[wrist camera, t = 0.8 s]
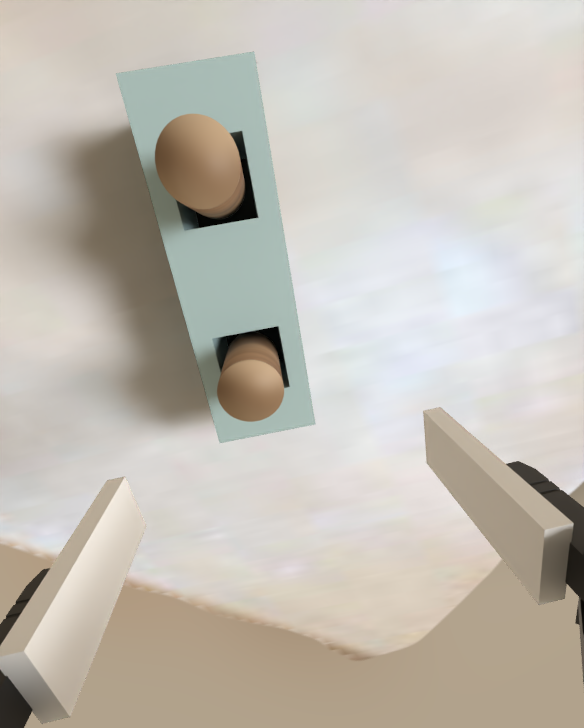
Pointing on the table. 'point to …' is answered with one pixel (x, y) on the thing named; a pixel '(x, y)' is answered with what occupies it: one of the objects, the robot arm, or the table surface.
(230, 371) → the peg
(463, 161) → the table surface
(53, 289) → the table surface
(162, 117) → the socket board
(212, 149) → the peg
